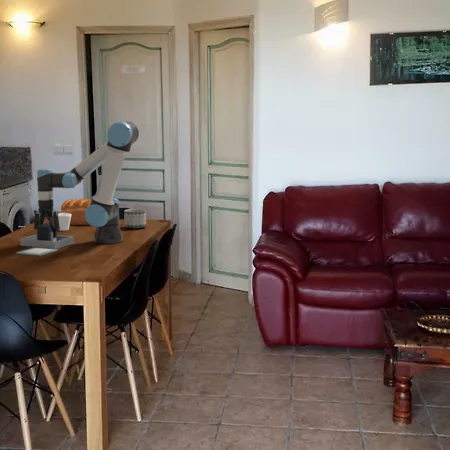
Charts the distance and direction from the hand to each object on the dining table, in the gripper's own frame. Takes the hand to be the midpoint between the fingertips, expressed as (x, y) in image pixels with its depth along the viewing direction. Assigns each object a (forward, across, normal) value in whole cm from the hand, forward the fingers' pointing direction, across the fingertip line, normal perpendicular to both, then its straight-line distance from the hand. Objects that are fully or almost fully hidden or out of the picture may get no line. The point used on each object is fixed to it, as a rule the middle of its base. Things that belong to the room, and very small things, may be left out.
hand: (47, 243), depth 339 cm
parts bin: (+1, 0, 0) cm, 1 cm away
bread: (+1, +21, -62) cm, 66 cm away
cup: (+1, +18, -38) cm, 42 cm away
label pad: (+1, -7, +17) cm, 18 cm away
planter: (+1, -16, -62) cm, 64 cm away
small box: (+1, 0, 0) cm, 1 cm away
